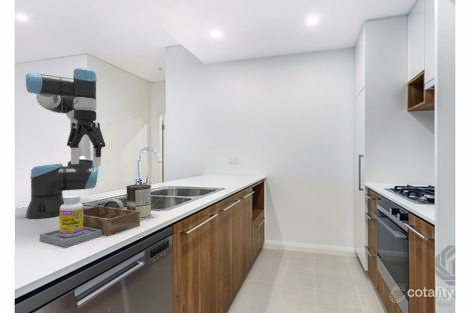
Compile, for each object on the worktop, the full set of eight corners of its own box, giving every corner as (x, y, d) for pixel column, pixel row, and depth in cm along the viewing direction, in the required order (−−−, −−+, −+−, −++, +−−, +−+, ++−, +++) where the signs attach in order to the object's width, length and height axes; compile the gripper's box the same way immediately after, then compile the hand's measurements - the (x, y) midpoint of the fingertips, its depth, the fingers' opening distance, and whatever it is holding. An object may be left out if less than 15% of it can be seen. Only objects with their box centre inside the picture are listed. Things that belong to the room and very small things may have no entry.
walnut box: (66, 226, 97) (66, 212, 97) (99, 218, 109) (99, 205, 109) (108, 235, 86) (108, 219, 86) (139, 225, 99) (139, 211, 99)
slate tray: (39, 240, 82) (39, 234, 82) (76, 230, 92) (76, 225, 92) (65, 247, 76) (65, 241, 76) (101, 235, 86) (101, 230, 86)
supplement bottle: (58, 239, 80) (57, 198, 79) (61, 233, 85) (60, 195, 85) (82, 236, 83) (82, 197, 82) (84, 230, 89) (83, 194, 88)
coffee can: (122, 220, 106) (122, 187, 106) (131, 214, 116) (130, 184, 116) (147, 220, 107) (147, 187, 107) (153, 214, 117) (153, 184, 117)
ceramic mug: (124, 213, 119) (124, 196, 119) (120, 217, 111) (119, 200, 111) (100, 214, 117) (99, 198, 117) (94, 219, 109) (93, 201, 109)
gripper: (56, 110, 99) (56, 163, 100) (96, 107, 88) (97, 167, 89) (75, 112, 106) (76, 162, 107) (115, 109, 94) (115, 166, 95)
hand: (85, 165), depth 98 cm, fingers open, 13 cm apart
